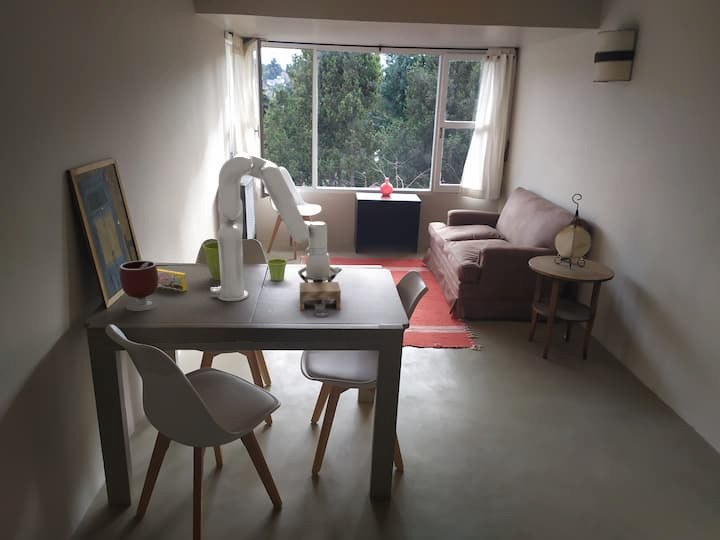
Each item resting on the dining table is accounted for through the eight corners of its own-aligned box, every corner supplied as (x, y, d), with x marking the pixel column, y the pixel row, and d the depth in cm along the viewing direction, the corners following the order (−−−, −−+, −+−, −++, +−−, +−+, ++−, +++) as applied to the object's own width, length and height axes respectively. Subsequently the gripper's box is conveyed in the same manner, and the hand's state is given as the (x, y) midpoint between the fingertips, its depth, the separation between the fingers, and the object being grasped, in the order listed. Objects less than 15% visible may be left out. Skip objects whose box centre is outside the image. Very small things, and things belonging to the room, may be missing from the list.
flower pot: (223, 271, 263) (221, 239, 259) (244, 277, 255) (243, 244, 250) (198, 278, 251) (196, 245, 247) (219, 285, 243) (217, 250, 239)
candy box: (154, 287, 238) (152, 269, 236) (157, 286, 240) (156, 268, 238) (183, 292, 233) (182, 274, 230) (187, 291, 234) (185, 272, 232)
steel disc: (315, 318, 207) (315, 314, 207) (314, 313, 212) (314, 309, 212) (328, 318, 208) (328, 314, 207) (327, 313, 213) (327, 309, 212)
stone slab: (306, 282, 255) (325, 282, 251) (305, 276, 254) (325, 276, 250) (325, 271, 275) (343, 270, 271) (325, 265, 274) (343, 265, 271)
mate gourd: (116, 306, 214) (111, 257, 209) (149, 297, 225) (145, 251, 219) (136, 316, 205) (130, 265, 199) (169, 307, 215) (165, 258, 209)
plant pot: (291, 278, 255) (291, 260, 252) (278, 283, 247) (278, 265, 245) (276, 275, 260) (276, 257, 257) (263, 279, 252) (262, 261, 249)
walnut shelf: (300, 310, 214) (300, 291, 211) (299, 300, 225) (299, 282, 223) (340, 310, 216) (340, 291, 213) (338, 300, 227) (338, 281, 225)
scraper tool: (314, 309, 216) (314, 292, 214) (312, 292, 236) (312, 277, 234) (324, 309, 216) (324, 292, 214) (322, 292, 236) (322, 277, 234)
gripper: (297, 253, 224) (297, 292, 229) (339, 252, 226) (338, 291, 231) (297, 248, 231) (297, 287, 236) (337, 248, 233) (337, 286, 238)
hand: (318, 289), depth 234 cm, fingers open, 9 cm apart
